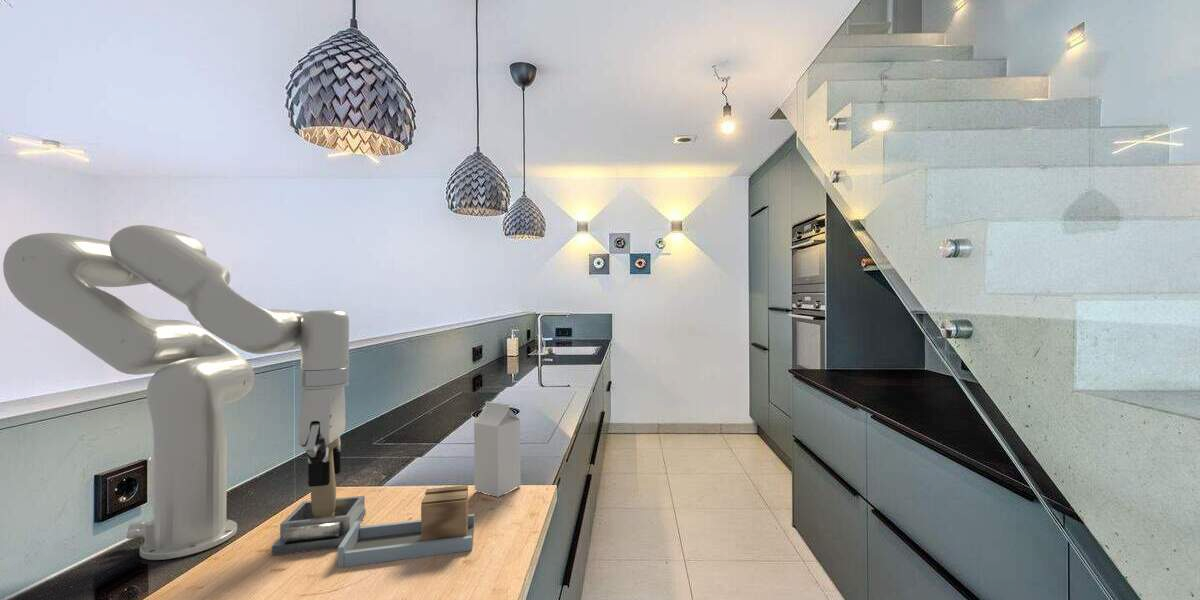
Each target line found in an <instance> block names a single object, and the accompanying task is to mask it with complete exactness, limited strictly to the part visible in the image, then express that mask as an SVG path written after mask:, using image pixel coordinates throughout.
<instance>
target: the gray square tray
mask: <svg viewBox="0 0 1200 600" xmlns="http://www.w3.org/2000/svg"><path fill="white" fill-rule="evenodd" d="M365 502H366V500H365V495H359V496H358V495H357V496H347V497H338V498H337V497H336V506H335V511H334V512H335V516H334V517H325V518H316V519H314V518H315V516H313V512H312V505H311V504H312V503H311V500H305V501H302V502H301V503H300V504H299V505H298V506H297V507H296V508H295V509H294V510H293V511H292V512H291V513H290V514H289V515H288V516H287V517H286V518H285V519H284V520H283V521H282V522H281V523H279V539H277V541H276V542H275V543H274V544H273V545H272V546H271V556H272V557H273V555H275V556H281V554H283V555H289V553H291V554H296V553H295V552H300V553H304V552H303V551H308V552H313V551H312V550H316V551H322V550H321V549H325V550H330V549H332V548H333V549H338V547H339V545H340V544H341V542H342V541H343V539H344V538H345V536H346V535H347V533H348V532H349V530H350V529H351V527H352V526H353V524H354V523H355V521H360V523H361V521H362V520H363V518H364V516H365V515H367V514H366V513H367V512H366V509H367V508H365V506H366V505H365ZM364 519H365V518H364ZM363 521H364V520H363ZM361 524H362V523H361Z"/></svg>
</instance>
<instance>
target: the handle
mask: <svg viewBox="0 0 1200 600" xmlns="http://www.w3.org/2000/svg"><path fill="white" fill-rule="evenodd" d="M323 442H324V441H318V444H325V443H323ZM337 445H339V437H337V438H336V439H335V440H334V441H333V442H332V443H330V444H329V451H328V461H330V483H329V484H328V485H325V486H314V487H310V501H311V503H312V504H311V505H312V512H313V516H315V518H314V519H316V518H325V517H334V516H335V512H334V511H335V506H336V498H337V487H336V486H337V484H336V483H337V482H336V474H335V472H334V461H333V449H334V448H335V447H336V446H337ZM304 448H306V446H305V447H304ZM318 450H321V451H322V453H323V448H318Z"/></svg>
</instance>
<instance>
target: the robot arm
mask: <svg viewBox="0 0 1200 600" xmlns="http://www.w3.org/2000/svg"><path fill="white" fill-rule="evenodd" d="M2 268H3V269H2V271H3V276H4V280H5V283H6V285H7V287H8V289H9V290H10V293H12V296H14V298H15V299H16V300H17V301H18V302H19V303H20V304H21V305H22V306H24V307H25V308H26V309H28V310H29V311H30V312H32V314H35V315H36V316H37V317H39V318H41V319H42V320H43V321H45V322H47V323H49V324H50V325H51V326H53V327H54V328H56V329H58V330H60V331H61V332H62V333H64V334H65V335H67V336H68V337H70V338H71V339H72V340H73V341H75V342H76V343H77V344H79V345H80V346H81V347H83V348H84V349H86V350H87V351H89V352H90V353H92V354H93V355H94V356H96V357H97V358H99V359H100V360H102V361H103V362H104V363H106V364H108V366H110V367H112V368H113V369H115V370H116V371H118V372H120V373H122V374H126V375H136V376H137V375H138V376H140V375H149V374H153V375H152V376H151V378H150V379H149V381H148V384H147V388H146V401H147V405H148V409H149V414H150V417H151V423H152V431H153V432H152V433H153V502H152V503H153V505H152V506H153V507H152V508H153V509H152V510H153V512H152V513H153V515H152V516H153V517H152V519H153V520H152V521H151V520H150V521H149V520H148V521H146V520H144V521H143V520H142V521H134V522H131V523H130V524H129V526H128V528H127V533H126V539H128V540H130V539H131V540H132V539H138V538H143V539H144V542H143V543H142V544H141V545H140V546H139V557H141V558H142V559H145V560H149V561H161V560H172V559H177V558H182V557H186V556H189V555H194V554H197V553H198V554H199V553H201V552H203V551H206V550H209V549H212V548H214V547H217V546H219V545H221V544H223V543H225V542H226V541H228V540H230V539H231V538H232V537H234V536H235V534H236V533H237V531H238V523H237V522H236V521H234V520H233V519H227V497H228V494H227V488H228V487H227V486H228V485H227V484H228V483H227V482H228V481H227V480H228V472H227V471H228V466H227V465H228V458H227V457H228V444H227V443H228V442H227V440H228V438H227V437H228V436H227V428H226V427H227V426H226V424H225V420H224V417H223V416H222V415H223V414H222V413H221V410H220V407H223V406H225V405H229V404H231V403H233V402H236V401H239V400H241V399H242V398H244V397H245V396H246V395H248V394H249V393H250V392H251V390H252V389H253V386H254V385H255V379H256V378H255V372H254V369H253V367H252V365H251V364H250V363H249V361H248V360H247V359H246V358H244V357H243V356H242V355H241V354H240V353H238V352H237V351H235V350H234V349H233V348H231V347H230V346H228V345H227V344H225V343H224V342H226V343H228V344H229V345H231V346H233V347H234V348H236V349H239V350H241V351H244V352H247V353H250V354H254V355H266V354H273V353H280V352H288V351H294V350H300V389H301V390H303V391H302V394H301V402H300V408H299V409H300V411H299V424H298V425H299V426H298V427H299V429H298V446H300V447H302V448H305V453H306V455H307V464H308V467H307V469H308V470H307V471H308V477H307V479H308V483H307V485H308V487H310V488H311V487H314V486H325V485H328V484H329V483H330V461H328V451H329V444H330V443H332V442H333V441H334V440H335V439H336V438H337V437H339V445H337V446H336V447H335V448H334V449H333V461H334V472H335V475H339V474H340V473H341V471H342V468H341V467H342V466H341V465H342V463H341V462H342V459H341V458H342V457H341V455H342V452H341V450H342V449H341V448H342V445H341V444H342V443H341V439H342V438H341V436H342V435H343V434H344V433H345V431H346V413H347V412H346V395H345V394H346V392H345V387H347V386H349V385H350V317H349V315H348V314H347V312H345V311H342V310H330V309H329V310H323V309H322V310H310V311H309V310H308V311H299V310H293V309H292V310H290V309H274V308H273V309H265V308H264V307H262V306H260V305H258V304H256V303H254V302H253V301H251V300H249V299H248V298H247V297H244V296H243V295H241V294H240V293H238V292H237V291H235V290H234V289H232V287H230V285H229V284H230V281H231V273H230V271H229V270H228V269H227V268H226V267H225V266H224V265H221V264H220V263H218V262H216V261H215V260H213V259H212V258H210V257H208V256H207V251H206V248H205V247H204V246H203V244H202V243H201V242H200V241H199V240H198V239H196V238H194V236H191V235H189V234H186V233H183V232H178V231H174V230H170V229H166V228H162V227H159V226H154V225H149V224H148V225H147V224H137V225H130V226H126V227H124V228H122V229H119V230H118V231H117V232H115V233H114V234H113V235H112V236H111V238H110V239H109V240H104V239H97V238H92V237H88V236H87V237H86V236H81V235H76V234H75V235H74V234H70V233H60V232H43V233H42V232H40V233H34V234H33V233H32V234H29V235H26V236H22V237H20V238H18V239H17V240H15V241H14V242H12V243H11V244H10V246H9V247H8V248H7V249H6V252H5V254H4V257H3V263H2ZM146 284H150V285H153V287H156V288H157V289H159V290H161V291H162V292H163V293H166V294H168V295H169V296H170V297H172V298H174V299H176V300H177V301H179V302H181V303H182V304H184V305H185V306H186V307H187V309H188V311H189V313H190V314H191V316H192V318H194V319H195V321H196V322H197V323H198V324H199V325H197V324H196V323H192V322H190V321H187V320H181V319H158V318H157V319H156V318H155V319H154V318H152V317H151V318H150V317H148V316H145V315H143V314H142V313H140V312H139V311H137V310H135V309H134V308H132V307H131V306H129V305H128V304H126V303H125V302H124V301H123V300H122V299H120V298H119V297H117V296H115V295H113V294H111V293H109V292H107V291H105V290H103V289H100V288H98V287H102V288H103V287H104V288H120V287H123V288H124V287H131V286H137V285H139V286H140V285H146ZM220 339H221V340H220ZM222 341H223V342H222ZM318 441H324V442H323V443H325V444H318ZM305 446H306V447H305ZM318 448H323V453H322V451H321V450H318Z"/></svg>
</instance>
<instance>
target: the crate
mask: <svg viewBox="0 0 1200 600" xmlns="http://www.w3.org/2000/svg"><path fill="white" fill-rule="evenodd" d="M424 494H425V495H424V497H423V499H422V500H421V505H420V517H421V518H420V520H421V542H423V541H431V540H439V539H448V538H456V537H464V536H467V532H468V514H469V485H468V484H465V485H455V486H446V487H445V486H444V487H436V488H426V490H425V491H424Z"/></svg>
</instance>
